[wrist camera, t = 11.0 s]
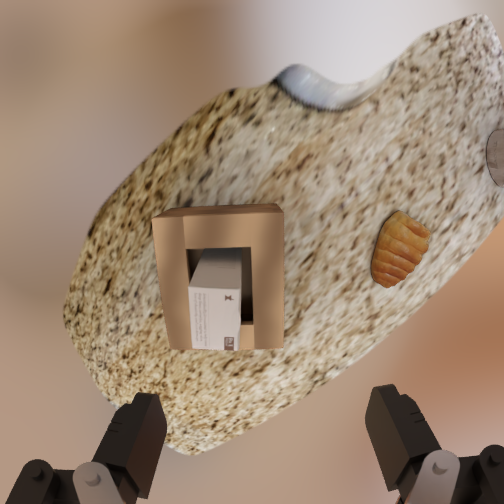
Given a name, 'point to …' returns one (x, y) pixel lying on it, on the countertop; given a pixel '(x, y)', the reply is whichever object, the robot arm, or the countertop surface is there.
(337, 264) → the countertop surface
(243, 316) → the slot box
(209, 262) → the skincare box
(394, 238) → the pastry
